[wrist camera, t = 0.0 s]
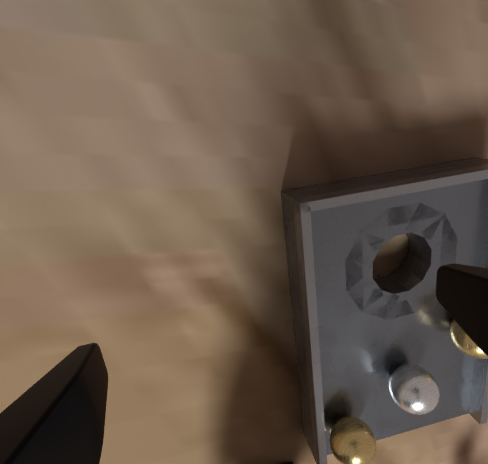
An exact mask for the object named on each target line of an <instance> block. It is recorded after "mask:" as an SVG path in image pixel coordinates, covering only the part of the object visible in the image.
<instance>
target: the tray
mask: <svg viewBox="0 0 488 464" xmlns="http://www.w3.org/2000/svg"><path fill="white" fill-rule="evenodd" d="M281 197H282V207H283V218H284V228H285V239H286V250H287V260H288V271H289V282H290V292H291V303H292V314H293V324H294V335H295V346H296V356H297V367H298V378H299V388H300V399H301V410H302V420H303V431H304V435H305V437H306V439H307V442H308V444H309V447H310V449H311V451H312V454H313V456H314V458H315V461H316V463H317V464H327V455H329V454H332V450H331V448H330V444H329V433H330V430H331V427H332V425H333V424H334V423H335V422H336V421H337V420H338V419H340V418H342V417H345V416H353V417H357V418H359V419H361V420H362V421H364V422H365V423H366V424H367V425H368V426H369V427H370V429H371V430H372V432H373V434H374V436H375V440H379V439H383V438H386V437H390V436H393V435H396V434H400V433H403V432H407V431H410V430H413V429H417V428H420V427H423V426H427V425H430V424H434V423H437V422H440V421H444V420H447V419H450V418H454V417H457V416H461V415H464V414H467V413H469V414H470V415H471V416H472V417H473V418H474V419H475V420H476V421H477V422H478V423H479V424H483V423H486V422H487V415H488V358H487V359H478V358H473V357H470V356H468V355H466V354H464V353H463V352H461V351H460V350H459V349H458V348H457V347H456V346H455V344H454V343H453V341H452V339H451V336H450V326H451V323H452V321H453V318H452V317H451V316H450V315H449V313H448V312H447V311H446V310H445V309H444V308H443V307H442V305H441V304H440V303H439V302H438V300H437V298H436V277H437V270H438V268H439V267H440V266H443V265H448V264H453V263H456V264H462V265H469V266H475V267H482V268H488V159H483V158H469V159H464V160H458V161H452V162H446V163H440V164H435V165H429V166H423V167H417V168H412V169H406V170H400V171H394V172H389V173H383V174H377V175H371V176H366V177H360V178H354V179H348V180H342V181H337V182H331V183H325V184H319V185H314V186H308V187H302V188H296V189H291V190H285V191H281ZM405 233H406V235H407V236H408V238H409V246H408V254H407V256H406V258H405V260H404V262H403V264H402V265H401V267H400V268H398V269H397V270H396V271H395V272H393V273H392V274H391V275H389V276H386V277H382V278H377V279H373V261H374V259H375V257H376V255H377V253H378V251H379V250H380V248H381V246H383V245H384V244H385V243H386V242H388V241H389V240H390V239H391V238H393V237H394V236H396V235H400V234H405ZM406 364H413V365H418V366H420V367H423V368H424V369H426V370H427V371H429V372H430V373H431V374H432V375H433V377H434V378H435V379H436V381H437V383H438V386H439V390H440V398H439V402H438V404H437V406H436V407H435V408H434V409H433V410H432V411H431V412H429V413H426V414H421V415H417V414H412V413H409V412H406V411H404V410H403V409H401V408H400V407H399V406H398V405H397V404H396V403H395V401H394V400H393V398H392V396H391V394H390V391H389V379H390V376H391V374H392V372H393V371H394V370H395V369H396V368H398V367H400V366H402V365H406Z"/></svg>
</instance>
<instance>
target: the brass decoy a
mask: <svg viewBox="0 0 488 464" xmlns="http://www.w3.org/2000/svg"><path fill="white" fill-rule="evenodd" d="M329 444H330V448H331V450H332V453H333V454H334V456H335V457H336V459H337V460H338V461H339V462H340V463H341V464H370V463H371V462H372V460H373V458H374V456H375V453H376V440H375V436H374V434H373V432H372V430H371V429H370V427H369V426H368V425H367V424H366V423H365V422H364V421H362V420H361V419H359V418H357V417H353V416H345V417H342V418H340V419H338V420H337V421H336V422H335V423H334V424H333V425H332V427H331V430H330V433H329Z"/></svg>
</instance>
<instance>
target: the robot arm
mask: <svg viewBox="0 0 488 464" xmlns="http://www.w3.org/2000/svg"><path fill="white" fill-rule="evenodd" d="M436 298H437V300H438V302H439V303H440V304H441V305H442V307H443V308H444V309H445V310H446V311H447V312H448V313H449V315H450V316H451V317H452V318H453V319H454V320H455V321H456V323H457V324H458V325H459V326H460V327H461V328H462V330H463V331H464V332H465V333H466V334H467V335H468V336H469V338H470V339H471V340H472V341H473V342H474V343H475V344H476V345H477V346H478V347H479V348H480V349H481V350H482V351H483V352H484V353H485V354H486V355H487V356H488V268H482V267H475V266H469V265H462V264H456V263H453V264H448V265H443V266H440V267H439V268H438V270H437V277H436ZM107 389H108V373H107V369H106V366H105V362H104V359H103V356H102V353H101V350H100V347H99V346H98V344H96V343H91V344H87V345H82V346H79V347H77V348H76V349H75V350H74V351H72V352H71V353H70V354H69V355H68V356H67V357H65V358H64V359H63V360H62V361H61V362H60V363H58V364H57V365H56V366H55V367H54V368H53V369H51V370H50V371H49V372H48V373H47V374H46V375H44V376H43V377H42V378H41V379H40V380H39V381H37V382H36V383H35V384H34V385H33V386H32V387H31V388H29V389H28V390H27V391H26V392H25V393H24V394H22V395H21V396H20V397H19V398H18V399H17V400H15V401H14V402H13V403H12V404H11V405H10V406H8V407H7V408H6V409H5V410H4V411H3V412H1V413H0V464H99V462H100V457H101V451H102V445H103V437H104V425H105V413H106V401H107ZM284 464H293V463H292V462H287V463H284Z"/></svg>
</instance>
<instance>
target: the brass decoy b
mask: <svg viewBox="0 0 488 464" xmlns="http://www.w3.org/2000/svg"><path fill="white" fill-rule="evenodd" d="M450 336H451V339H452V341H453V343H454V344H455V346H456V347H457V348H458V349H459V350H460V351H461V352H463V353H464V354H466V355H468V356H470V357H473V358H478V359H487V358H488V356H487V355H486V354H485V353H484V352H483V351H482V350H481V349H480V348H479V347H478V346H477V345H476V344H475V343H474V342H473V341H472V340H471V339H470V338H469V336H468V335H467V334H466V333H465V332H464V331H463V330H462V328H461V327H460V326H459V325H458V324H457V323H456V321H455V320H454V319H453V321H452V323H451V326H450Z"/></svg>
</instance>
